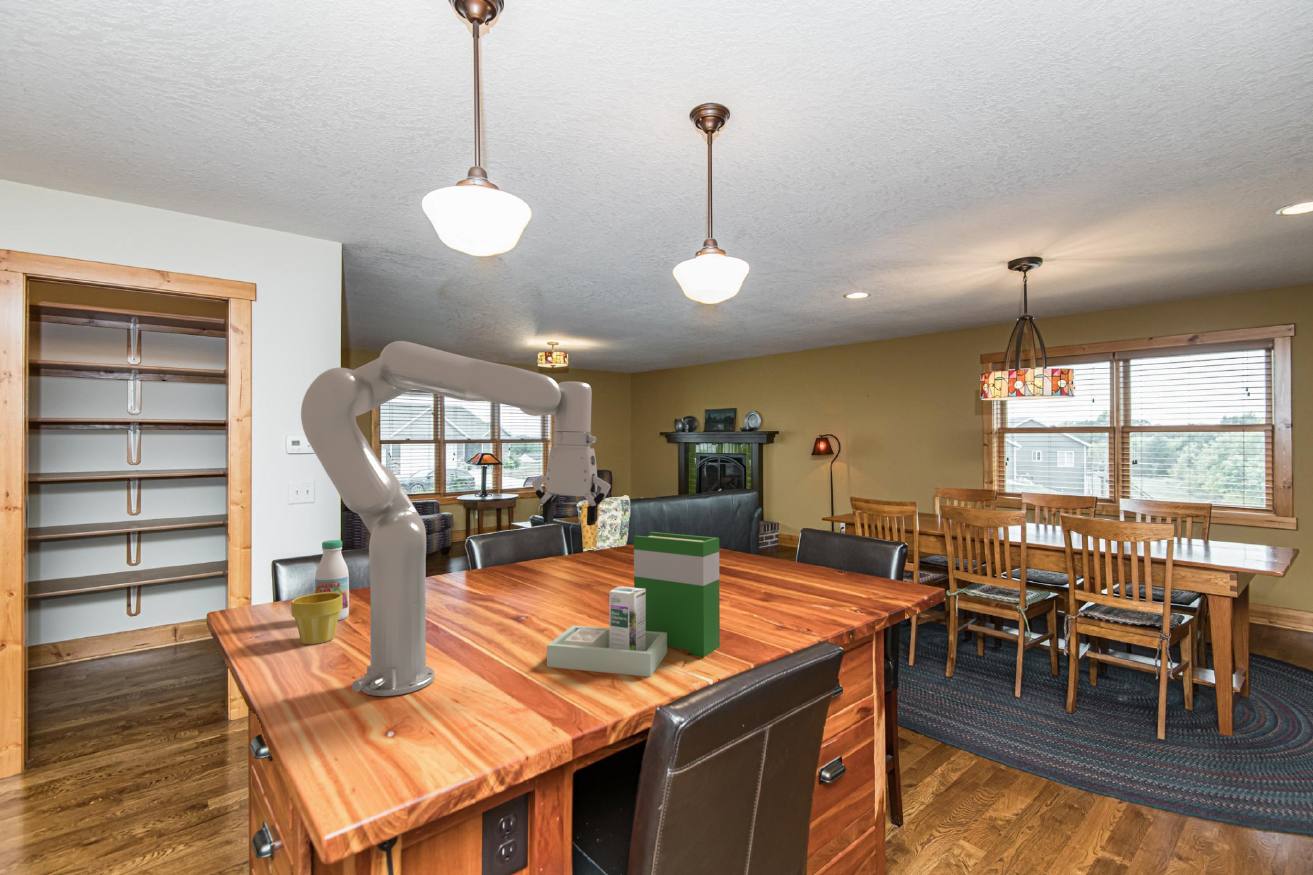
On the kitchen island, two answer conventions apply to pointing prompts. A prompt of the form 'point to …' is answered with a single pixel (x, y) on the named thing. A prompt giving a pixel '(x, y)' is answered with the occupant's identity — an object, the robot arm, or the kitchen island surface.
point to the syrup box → (627, 618)
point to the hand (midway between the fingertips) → (569, 523)
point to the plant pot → (317, 616)
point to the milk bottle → (333, 574)
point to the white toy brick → (587, 638)
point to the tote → (607, 655)
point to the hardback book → (680, 589)
